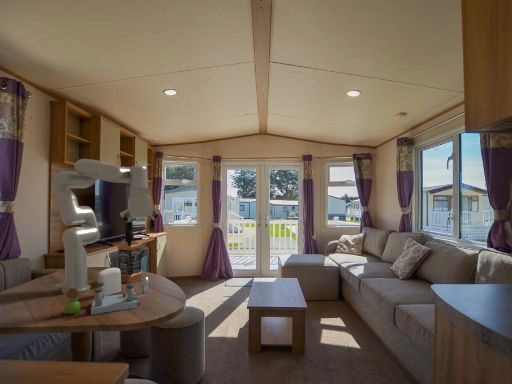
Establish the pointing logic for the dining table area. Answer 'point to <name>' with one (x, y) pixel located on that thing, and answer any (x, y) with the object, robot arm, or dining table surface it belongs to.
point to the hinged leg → (143, 288)
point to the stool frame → (113, 300)
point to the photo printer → (110, 280)
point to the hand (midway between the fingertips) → (141, 229)
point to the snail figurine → (71, 300)
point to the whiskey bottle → (129, 258)
